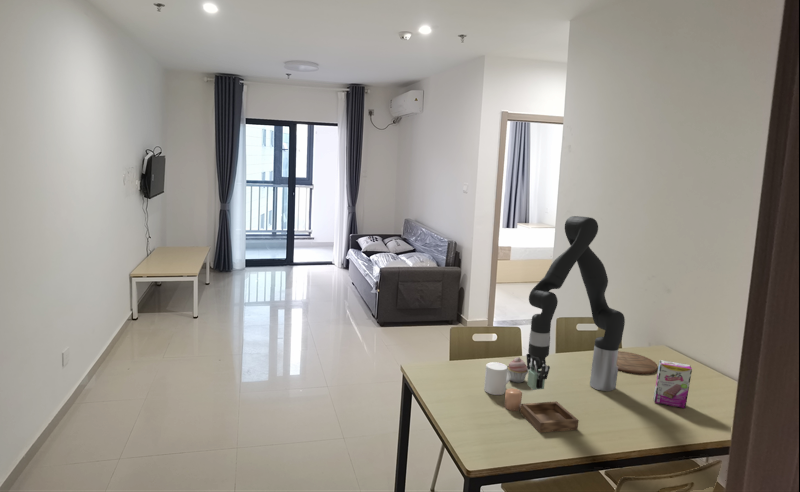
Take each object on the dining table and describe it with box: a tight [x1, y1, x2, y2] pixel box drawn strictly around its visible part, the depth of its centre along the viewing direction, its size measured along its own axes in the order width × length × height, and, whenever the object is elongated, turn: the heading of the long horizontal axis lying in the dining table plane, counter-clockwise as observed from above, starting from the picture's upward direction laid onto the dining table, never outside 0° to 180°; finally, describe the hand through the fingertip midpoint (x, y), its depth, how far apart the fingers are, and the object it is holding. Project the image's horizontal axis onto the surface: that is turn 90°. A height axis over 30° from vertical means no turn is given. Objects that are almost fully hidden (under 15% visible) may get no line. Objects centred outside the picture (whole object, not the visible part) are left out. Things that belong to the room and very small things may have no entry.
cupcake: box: [506, 356, 529, 384], centre depth 227 cm, size 9×9×10 cm
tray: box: [519, 401, 580, 434], centre depth 192 cm, size 14×14×4 cm
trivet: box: [616, 350, 658, 375], centre depth 254 cm, size 25×25×2 cm
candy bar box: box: [653, 359, 693, 409], centre depth 211 cm, size 11×5×16 cm, turn 71°
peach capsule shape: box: [503, 387, 523, 412], centre depth 202 cm, size 6×6×6 cm
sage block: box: [527, 369, 546, 391], centre depth 206 cm, size 4×4×6 cm
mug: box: [483, 361, 511, 396], centre depth 216 cm, size 8×10×12 cm
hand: (535, 385), depth 206 cm, fingers closed on sage block, 4 cm apart
